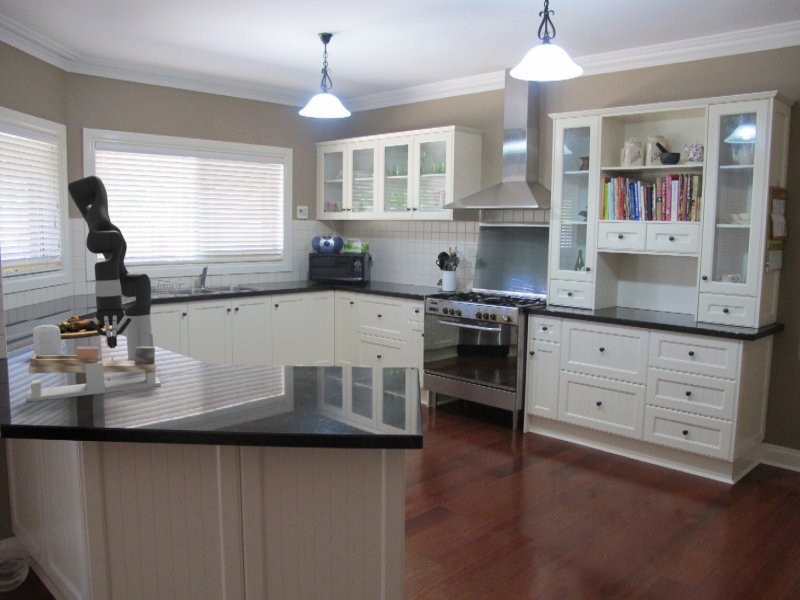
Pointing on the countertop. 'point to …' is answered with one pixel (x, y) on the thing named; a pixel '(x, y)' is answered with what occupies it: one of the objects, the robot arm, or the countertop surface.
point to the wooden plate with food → (78, 328)
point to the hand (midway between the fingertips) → (112, 347)
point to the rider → (87, 352)
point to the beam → (73, 365)
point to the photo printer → (47, 340)
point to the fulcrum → (91, 384)
